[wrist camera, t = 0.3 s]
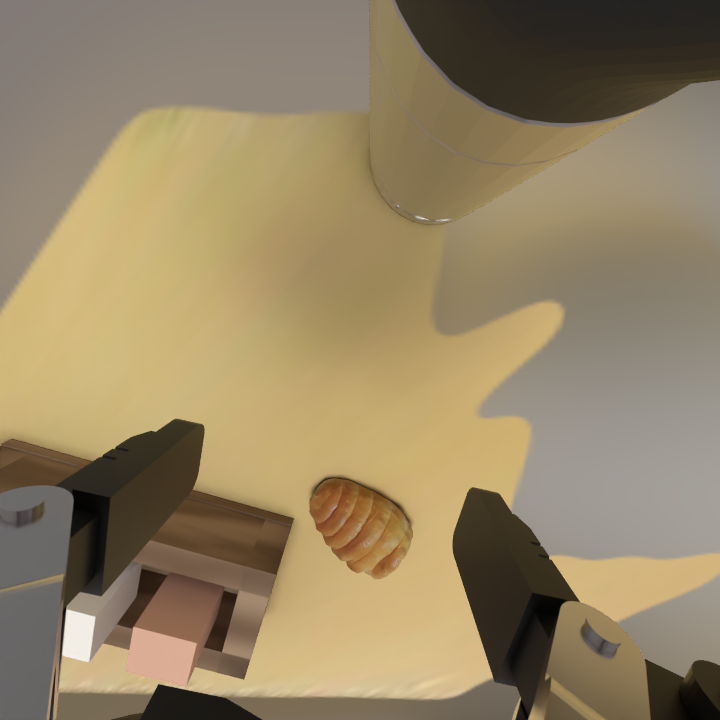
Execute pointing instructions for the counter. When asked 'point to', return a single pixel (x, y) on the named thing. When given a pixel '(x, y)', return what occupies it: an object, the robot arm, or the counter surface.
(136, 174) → the counter surface
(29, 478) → the brown wooden tray
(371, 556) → the pastry
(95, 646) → the white block
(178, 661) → the pink block
